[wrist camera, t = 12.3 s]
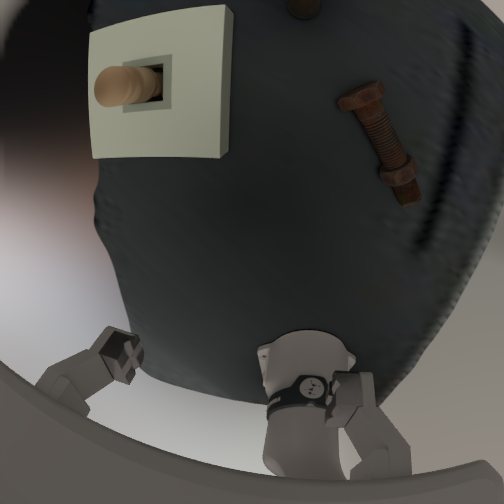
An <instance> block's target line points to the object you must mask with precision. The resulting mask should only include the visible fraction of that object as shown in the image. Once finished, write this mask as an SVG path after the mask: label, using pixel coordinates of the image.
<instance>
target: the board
mask: <svg viewBox="0 0 504 504" xmlns="http://www.w3.org/2000/svg"><path fill="white" fill-rule="evenodd" d="M233 19H234V13H233V12H232V11H231V10H230V9H229V8H228V7H227V6H226V5H214V6H204V7H195V8H188V9H181V10H175V11H169V12H164V13H159V14H154V15H149V16H145V17H141V18H137V19H133V20H129V21H125V22H122V23H118V24H115V25H112V26H109V27H106V28H102V29H99V30H97V31H94V32H91V33H90V40H89V62H88V63H89V64H88V96H89V119H90V133H91V145H92V154H93V158H94V159H95V158H114V157H205V158H221V157H222V156H223V155H224V154H226V153H227V152H228V151H229V111H230V82H231V58H232V37H233ZM110 66H129V67H148V68H150V69H153V68H160V67H163V101H152V102H142V103H133V104H127V105H121V106H115V107H104V106H102V105H100V104H99V103H98V102H97V100H96V98H95V95H94V85H95V81H96V79H97V77H98V75H99V74H100V73H101V71H103V70H104V69H105V68H107V67H110Z"/></svg>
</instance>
